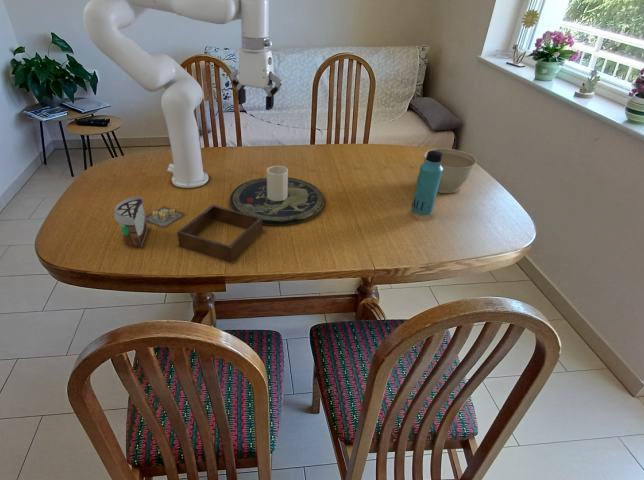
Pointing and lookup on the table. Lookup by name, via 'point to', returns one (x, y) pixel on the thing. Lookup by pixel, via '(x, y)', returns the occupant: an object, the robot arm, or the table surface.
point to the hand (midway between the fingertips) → (255, 106)
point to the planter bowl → (454, 169)
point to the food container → (132, 220)
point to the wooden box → (215, 248)
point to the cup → (277, 183)
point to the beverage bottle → (427, 184)
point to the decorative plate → (278, 202)
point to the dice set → (163, 217)
